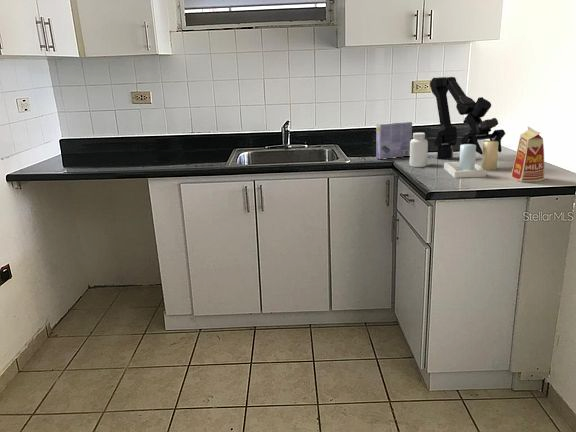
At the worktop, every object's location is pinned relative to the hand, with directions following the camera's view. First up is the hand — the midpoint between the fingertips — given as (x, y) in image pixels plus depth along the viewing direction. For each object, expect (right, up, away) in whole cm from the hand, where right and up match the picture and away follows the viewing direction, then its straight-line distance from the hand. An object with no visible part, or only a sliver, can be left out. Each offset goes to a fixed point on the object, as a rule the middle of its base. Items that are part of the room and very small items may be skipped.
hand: (491, 152), depth 209 cm
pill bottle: (-26, -4, +19) cm, 32 cm away
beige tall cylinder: (0, -7, +3) cm, 7 cm away
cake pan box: (-31, +3, +43) cm, 54 cm away
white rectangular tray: (-12, -9, -2) cm, 15 cm away
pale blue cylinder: (-13, -10, -6) cm, 17 cm away
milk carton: (+6, -13, -19) cm, 23 cm away
